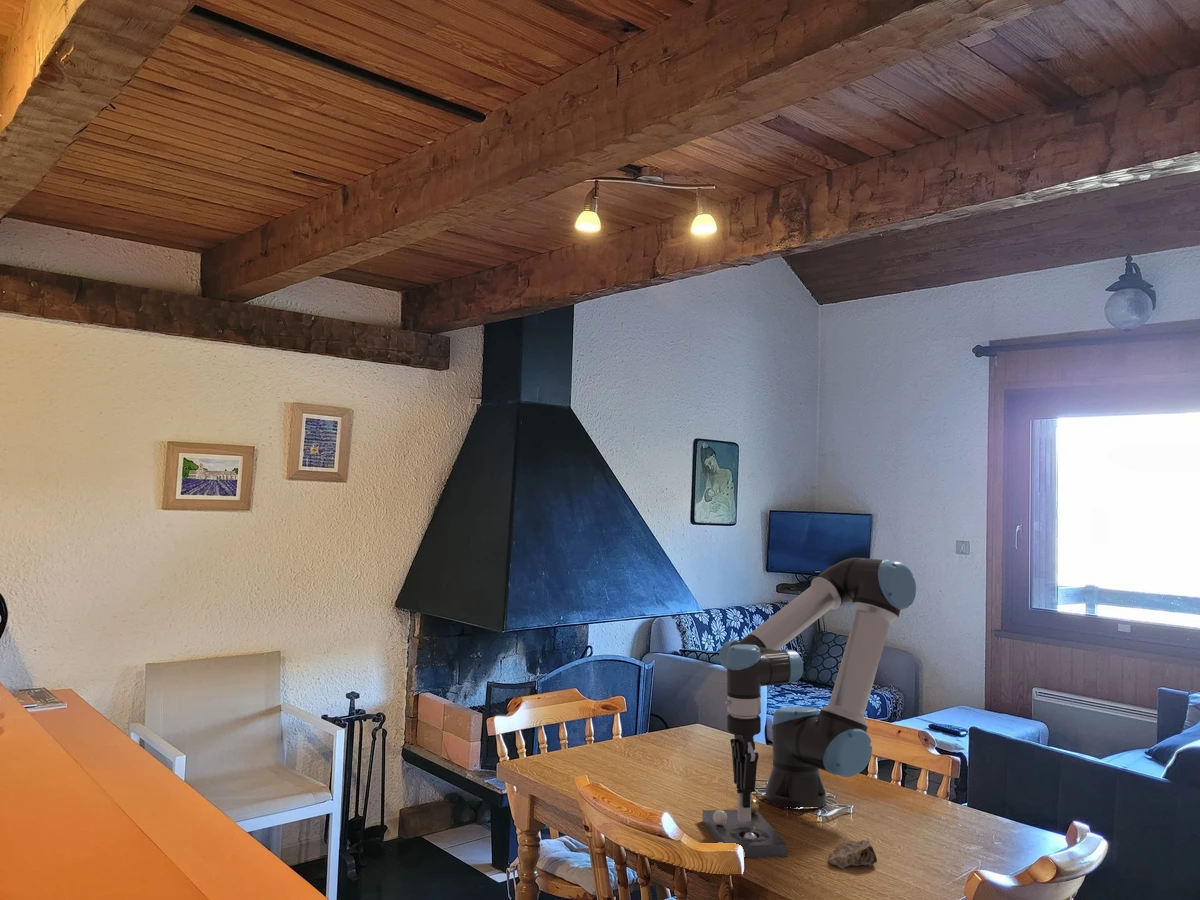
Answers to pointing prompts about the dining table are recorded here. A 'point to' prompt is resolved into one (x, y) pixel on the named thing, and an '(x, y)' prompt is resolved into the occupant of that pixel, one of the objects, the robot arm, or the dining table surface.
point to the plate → (734, 832)
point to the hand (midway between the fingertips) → (744, 820)
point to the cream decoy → (720, 817)
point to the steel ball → (750, 835)
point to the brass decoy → (754, 806)
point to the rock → (853, 854)
